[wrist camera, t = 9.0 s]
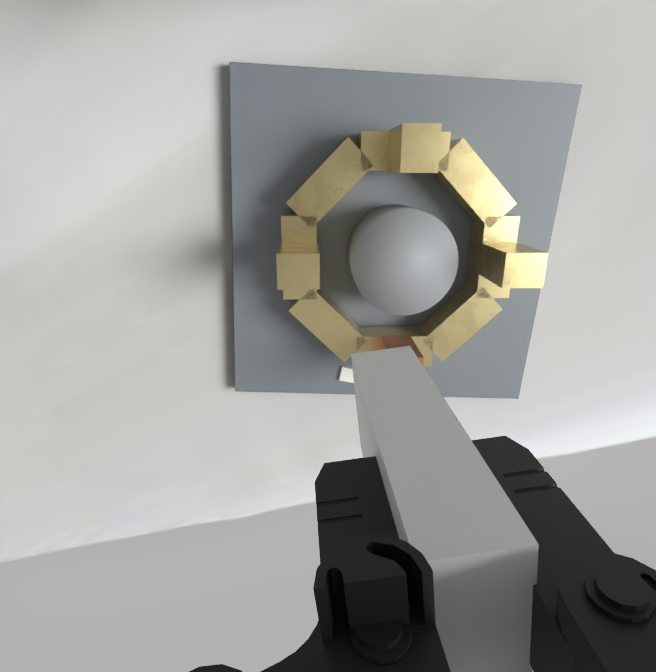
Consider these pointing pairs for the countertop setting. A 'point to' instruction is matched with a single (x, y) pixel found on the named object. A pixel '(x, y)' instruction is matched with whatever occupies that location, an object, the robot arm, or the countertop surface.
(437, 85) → the slate plate
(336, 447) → the countertop surface
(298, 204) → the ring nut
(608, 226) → the countertop surface
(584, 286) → the countertop surface
